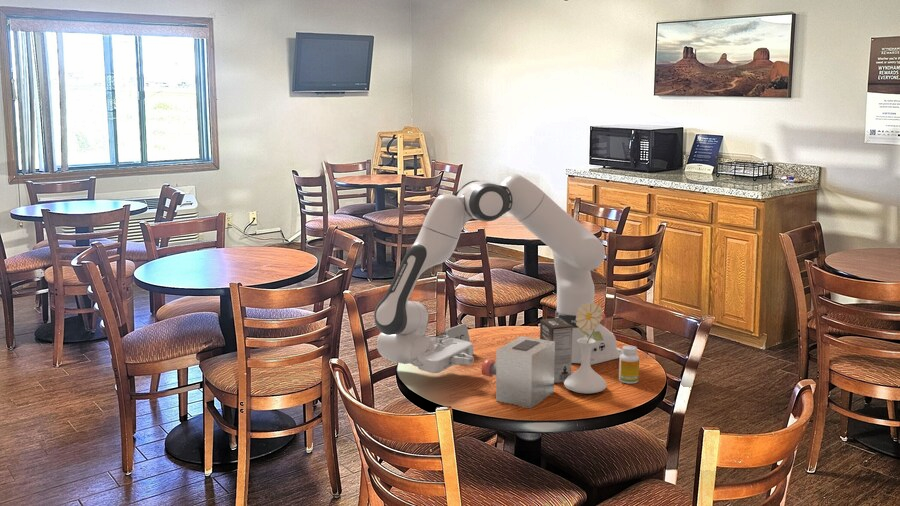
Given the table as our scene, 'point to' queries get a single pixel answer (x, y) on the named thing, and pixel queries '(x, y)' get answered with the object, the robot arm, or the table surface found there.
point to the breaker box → (525, 371)
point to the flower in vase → (587, 352)
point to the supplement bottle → (629, 365)
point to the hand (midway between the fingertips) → (471, 360)
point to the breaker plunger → (489, 368)
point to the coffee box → (559, 345)
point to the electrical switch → (458, 332)
